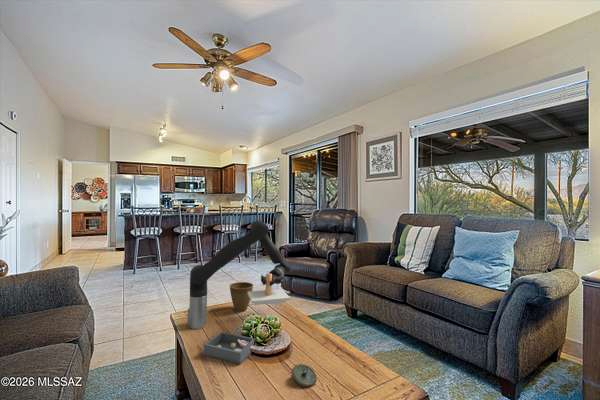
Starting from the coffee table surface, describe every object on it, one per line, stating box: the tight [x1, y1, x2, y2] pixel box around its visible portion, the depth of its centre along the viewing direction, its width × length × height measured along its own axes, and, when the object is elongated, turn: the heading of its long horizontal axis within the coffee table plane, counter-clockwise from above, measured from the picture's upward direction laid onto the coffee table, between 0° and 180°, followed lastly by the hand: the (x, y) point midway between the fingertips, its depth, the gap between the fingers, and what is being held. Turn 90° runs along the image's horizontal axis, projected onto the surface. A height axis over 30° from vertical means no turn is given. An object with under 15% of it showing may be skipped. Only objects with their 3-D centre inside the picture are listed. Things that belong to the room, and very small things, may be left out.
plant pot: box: [229, 281, 254, 313], centre depth 187 cm, size 15×15×16 cm
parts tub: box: [203, 331, 254, 365], centre depth 135 cm, size 19×14×5 cm
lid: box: [291, 363, 317, 388], centre depth 116 cm, size 11×10×5 cm
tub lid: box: [248, 272, 291, 306], centre depth 154 cm, size 20×15×14 cm
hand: (267, 283), depth 152 cm, fingers closed on tub lid, 3 cm apart
